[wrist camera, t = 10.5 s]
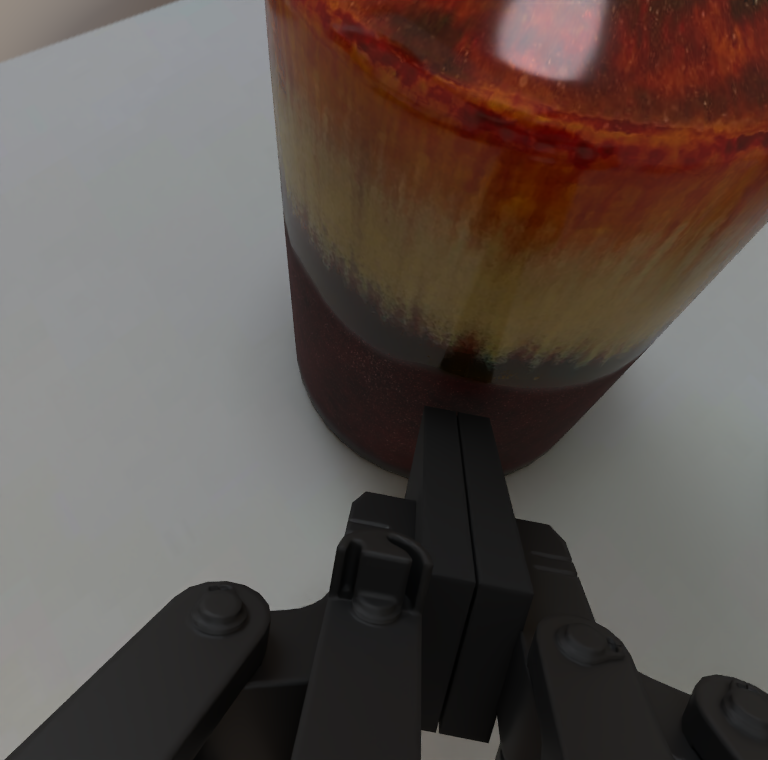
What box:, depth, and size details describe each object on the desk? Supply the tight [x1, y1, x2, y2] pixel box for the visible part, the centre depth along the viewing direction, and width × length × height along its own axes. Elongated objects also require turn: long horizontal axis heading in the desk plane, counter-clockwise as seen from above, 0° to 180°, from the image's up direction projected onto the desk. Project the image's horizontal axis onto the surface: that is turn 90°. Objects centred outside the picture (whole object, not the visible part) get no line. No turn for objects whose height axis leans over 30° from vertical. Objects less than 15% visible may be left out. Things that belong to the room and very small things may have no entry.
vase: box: [265, 0, 768, 478], centre depth 14 cm, size 11×11×20 cm
